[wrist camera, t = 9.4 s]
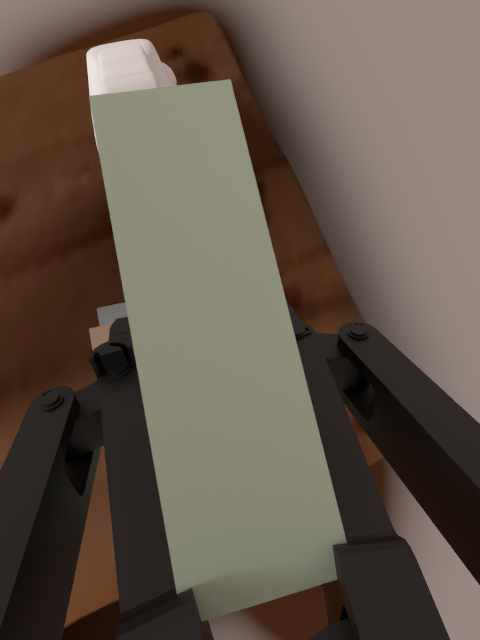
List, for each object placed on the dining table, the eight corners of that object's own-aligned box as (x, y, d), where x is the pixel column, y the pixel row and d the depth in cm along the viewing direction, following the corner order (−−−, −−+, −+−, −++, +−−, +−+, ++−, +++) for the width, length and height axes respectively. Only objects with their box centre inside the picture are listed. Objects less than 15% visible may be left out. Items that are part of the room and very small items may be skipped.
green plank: (199, 449, 24) (182, 628, 6) (170, 301, 25) (89, 95, 8) (244, 437, 24) (355, 574, 6) (213, 292, 26) (230, 79, 8)
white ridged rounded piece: (134, 255, 44) (93, 182, 29) (99, 128, 47) (45, -2, 32) (220, 233, 46) (227, 152, 30) (182, 111, 49) (169, -20, 33)
